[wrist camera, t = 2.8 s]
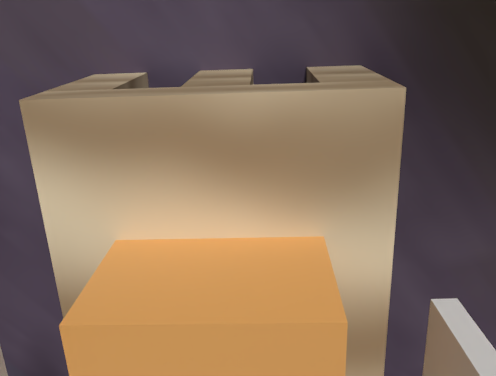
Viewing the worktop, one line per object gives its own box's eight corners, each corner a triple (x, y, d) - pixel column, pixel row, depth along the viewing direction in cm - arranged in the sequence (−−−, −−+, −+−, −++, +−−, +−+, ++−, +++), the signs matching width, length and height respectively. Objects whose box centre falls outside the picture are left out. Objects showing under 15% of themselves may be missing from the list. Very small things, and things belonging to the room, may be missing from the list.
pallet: (96, 73, 18) (18, 100, 12) (359, 65, 17) (406, 87, 12) (138, 369, 23) (97, 485, 17) (346, 367, 22) (374, 486, 17)
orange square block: (115, 240, 14) (59, 326, 10) (323, 236, 13) (347, 322, 10) (139, 401, 16) (99, 524, 12) (320, 401, 15) (338, 525, 12)
